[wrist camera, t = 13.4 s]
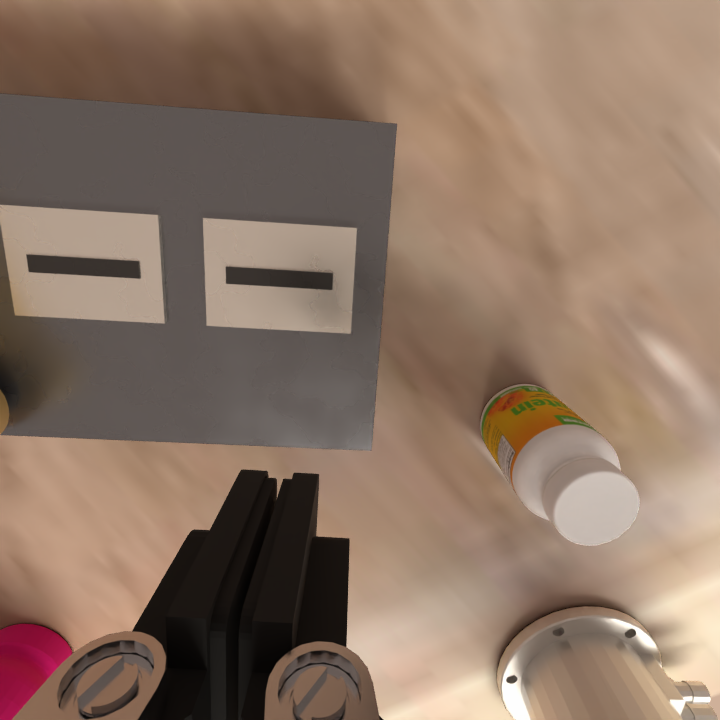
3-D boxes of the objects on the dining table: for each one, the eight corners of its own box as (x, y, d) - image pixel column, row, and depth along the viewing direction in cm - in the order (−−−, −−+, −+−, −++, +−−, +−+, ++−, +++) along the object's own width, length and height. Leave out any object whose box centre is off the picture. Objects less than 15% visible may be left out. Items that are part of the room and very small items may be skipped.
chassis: (387, 143, 25) (398, 121, 19) (367, 413, 29) (372, 454, 24) (-31, 112, 24) (-137, 81, 18) (16, 397, 28) (-58, 436, 23)
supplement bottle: (561, 378, 29) (663, 451, 20) (557, 453, 30) (650, 553, 21) (477, 385, 29) (540, 462, 20) (478, 460, 30) (536, 564, 21)
